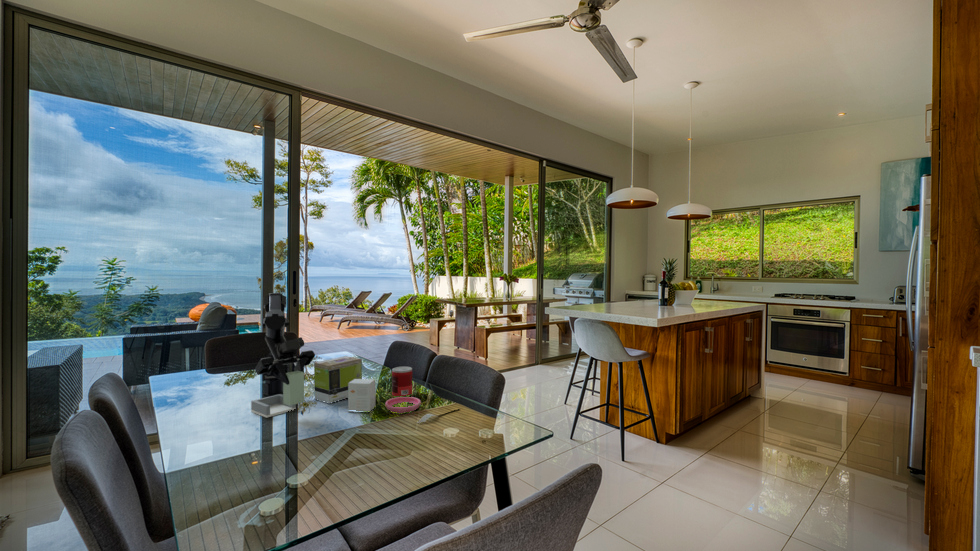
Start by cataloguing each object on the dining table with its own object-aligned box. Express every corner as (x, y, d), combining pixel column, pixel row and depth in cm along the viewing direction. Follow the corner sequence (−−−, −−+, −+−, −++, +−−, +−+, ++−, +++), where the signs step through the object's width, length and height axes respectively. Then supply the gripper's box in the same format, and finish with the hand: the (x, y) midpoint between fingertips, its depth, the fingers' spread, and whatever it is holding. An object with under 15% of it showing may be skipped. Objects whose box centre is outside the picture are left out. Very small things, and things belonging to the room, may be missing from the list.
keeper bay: (251, 411, 149) (251, 400, 149) (280, 404, 157) (280, 393, 157) (266, 417, 143) (266, 406, 143) (295, 409, 152) (295, 398, 152)
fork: (462, 416, 154) (463, 408, 154) (420, 426, 137) (421, 418, 138) (456, 414, 156) (457, 407, 156) (414, 424, 139) (415, 416, 139)
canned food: (415, 394, 171) (415, 367, 171) (405, 400, 163) (405, 371, 163) (398, 392, 173) (399, 365, 173) (388, 398, 166) (388, 370, 166)
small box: (375, 408, 154) (375, 379, 154) (369, 413, 148) (370, 383, 148) (354, 407, 155) (354, 378, 155) (347, 412, 149) (347, 382, 149)
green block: (283, 403, 142) (283, 373, 142) (297, 399, 146) (297, 370, 146) (289, 405, 140) (290, 375, 140) (304, 401, 144) (304, 372, 144)
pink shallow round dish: (401, 418, 144) (401, 409, 144) (377, 411, 151) (377, 402, 151) (427, 409, 154) (427, 400, 154) (404, 402, 161) (404, 394, 161)
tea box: (347, 390, 175) (347, 355, 175) (362, 395, 169) (362, 358, 169) (313, 399, 163) (313, 361, 163) (329, 405, 157) (329, 365, 157)
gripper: (259, 333, 137) (278, 373, 131) (312, 327, 152) (331, 362, 146) (247, 355, 142) (264, 394, 136) (299, 346, 157) (317, 381, 151)
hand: (296, 382), depth 142 cm, fingers closed on green block, 5 cm apart
